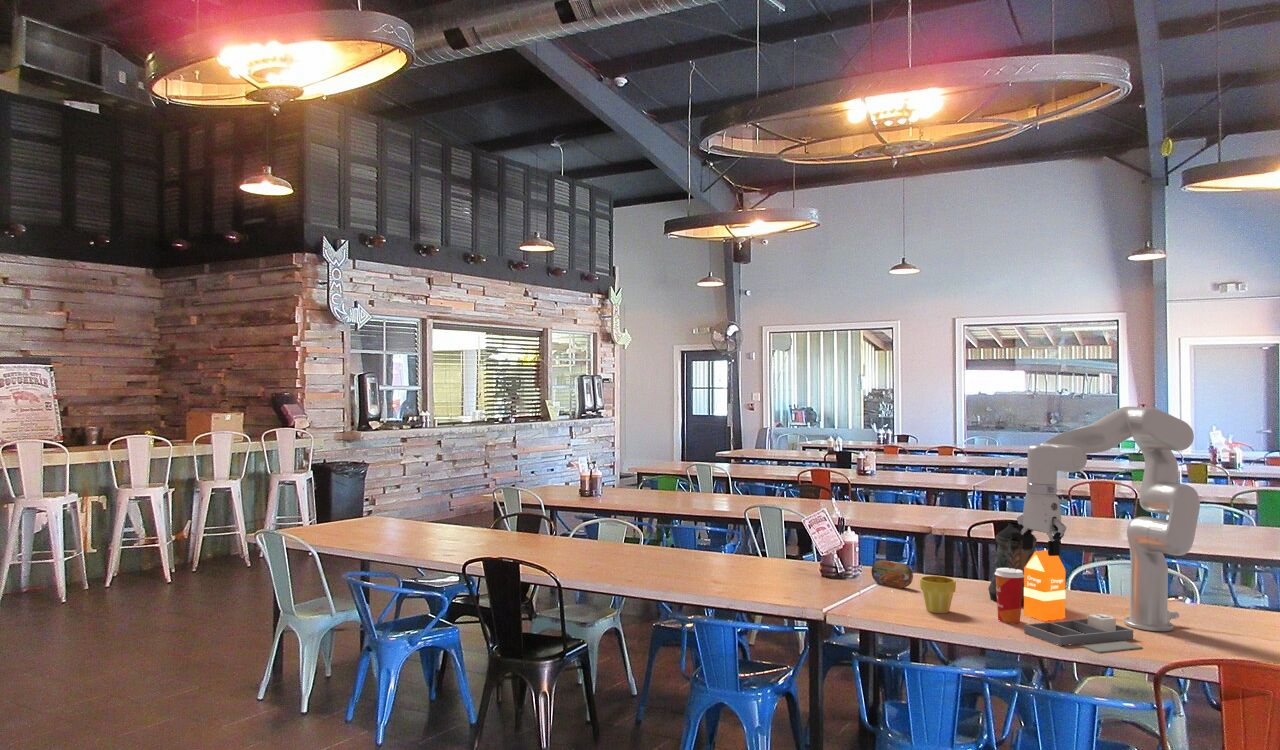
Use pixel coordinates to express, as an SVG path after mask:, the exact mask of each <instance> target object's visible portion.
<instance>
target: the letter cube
mask: <svg viewBox="0 0 1280 750" xmlns="http://www.w3.org/2000/svg"><path fill="white" fill-rule="evenodd" d="M1087 619H1088V621H1087V625H1089V626H1092V627H1095V628H1099V629H1102V630H1105V631H1108V632H1110V631H1116V625H1117V624H1116V623H1117V619H1116V617H1113V616H1111V615H1108V614H1103V613H1093V614H1088V615H1087Z"/></svg>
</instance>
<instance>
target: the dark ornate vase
mask: <svg viewBox="0 0 1280 750" xmlns="http://www.w3.org/2000/svg"><path fill="white" fill-rule="evenodd" d="M1031 535H1033V549H1025V550H1024V549H1022V534H1021V530H1020V528H1019V524H1018V522H1009V523H1008V525H1007V526H1006V527H1005V528H1004V529H1002V530H1001V531H999V532H998V533H996V535H995V542H996V543H997V548H996V553H995V559H994V568H993V573H992V577H991V581H990V584H989V586H988V589H987V590H988V593H989V598H990V600H991V601H992V602H994V603H997V591H996V575H995V572H996V569H997V568H1010V569H1011V568H1013V569H1016V570H1017V569H1019V570H1022V571H1023V575H1024V567H1025V566H1026V565H1027V563H1028V562H1029V560H1030V559H1031V557H1032V556H1033V554H1034V553H1035V551H1036V549H1035V547H1036V544H1037V541H1038V539H1037V537H1036V536H1035V535H1034V534H1033V533H1031ZM1016 570H1015V571H1016ZM1021 607H1024V577H1023V588H1022V602H1021Z"/></svg>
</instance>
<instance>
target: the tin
mask: <svg viewBox="0 0 1280 750" xmlns="http://www.w3.org/2000/svg"><path fill="white" fill-rule="evenodd" d="M870 572H871V575H872V578H873V580H874V581H875V582H876V584H879V585H880V586H881V585H882V586H887V587H893V588H899V589H902V588H907V587H908V586H910V585H911V584H912V583H913V578H914V573H913V570H912V568H911V567H910V565H908V564H906V563H904V562H899V561H898V562H897V561H892V560H891V561H889V560H884V559H883V560H881V559H880V560H877V561H875V562H874V563H873V565H872V566H871V571H870Z"/></svg>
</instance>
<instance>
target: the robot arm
mask: <svg viewBox="0 0 1280 750" xmlns="http://www.w3.org/2000/svg"><path fill="white" fill-rule="evenodd" d="M1194 436H1195V434H1194V431H1193V428H1192V427H1191V425H1189V423H1187V422H1186V421H1184V420H1183V419H1180V418H1178V417H1176V416H1173V415H1171V414H1169V413H1167V412H1165V411H1164V410H1163V411H1162V410H1160V409H1157V408H1154V407H1147V406H1146V407H1145V406H1122V407H1119V408H1118V409H1116V410H1114V411H1111V412H1110V413H1108V414H1107V415H1105V416H1103V417H1101V418H1099V419H1098V420H1096V421H1095V422H1092V423H1091V424H1088V425H1087V424H1086V425H1085V426H1084V425H1083V426H1081V427H1077V428H1074V429H1071V430H1068V431H1063V432H1061V433H1058V434H1056V435H1054V436H1052V437H1050V438H1047V440H1044V441H1043V442H1041V443H1040V444H1033V445H1030V446H1029V447H1028V448H1027V464H1026V466H1027V467H1026V468H1027V470H1026V471H1027V472H1026V476H1027V477H1026V494H1025V497H1024V503H1023V513H1022V514H1021V515H1019V516H1018V517H1016V521H1017V523H1018V524H1019V528H1020V530H1021V534H1022V549H1024V550H1025V549H1033V535H1034V534H1033V532H1039V533H1043V534H1044V533H1045V534H1047V536H1048V538H1049V540H1048V542H1047V544H1048V545H1047V550H1048V555H1049V556H1060V542H1062V538H1063V537H1064V536H1065V533H1066V530H1067V526H1066V525H1065V524H1064V523H1063V522H1062V511H1061V503H1060V498H1059V496H1057V493H1058V491H1059V490H1058V484H1057V483H1058V479H1057V478H1058V472H1061V473H1063V472H1064V473H1072V474H1073V473H1077V472H1080V471H1081V470H1083V469H1084V468H1085V467H1086V465H1087V461H1088V456H1087V454H1089V455H1090V454H1097V453H1103V452H1107V451H1110V450H1112V449H1113V448H1115V447H1117V446H1118V445H1120V444H1121V443H1123V442H1125V441H1127V440H1129V439H1130V438H1132V439H1133V441H1134V442H1135V444H1136V445H1137V446H1138V448H1139V449H1140V451H1141V453H1142V456H1143V458H1144V471H1143V476H1142V481H1141V486H1140V487H1141V488H1140V492H1139V500H1138V501H1139V505H1140V507H1141V508H1142V509H1143V510H1145V511H1146V512H1148V513H1152V514H1159V515H1164V516H1169V518H1168V519H1163V518H1159V517H1152V516H1138V517H1134V518H1133V519H1132V520H1130V522H1129V523H1128V525H1127V528H1126V538H1127V542H1128V545H1129V546H1128V547H1129V555H1130V556H1129V557H1130V577H1129V578H1130V585H1129V586H1130V589H1129V590H1130V593H1129V594H1130V595H1129V598H1130V600H1129V601H1130V602H1129V616H1128V617H1127V616H1126V617H1125V618H1124V619H1123V623H1124V624H1125V625H1126V626H1128V627H1131V628H1134V629H1137V630H1143V631H1144V630H1145V631H1150V632H1170V631H1172V630H1174V628H1175V627H1174V624H1173V623H1172V622H1171V619H1179V618H1180V613H1178V611H1171V612H1170V610H1169V609H1168V608H1169V607H1168V603H1169V601H1168V600H1169V598H1168V597H1169V595H1168V593H1169V590H1168V589H1169V583H1168V582H1169V580H1168V579H1169V578H1168V577H1169V567H1168V562H1167V559H1166V558H1165V557H1166V556H1165V555H1164V554H1166V555H1172V556H1184V555H1186V554H1188V553H1189V552H1190V551H1191V549H1192V547H1193V545H1194V540H1195V537H1196V530H1197V526H1198V520H1199V514H1200V508H1201V499H1200V496H1199V494H1198V491H1197V490H1196V489H1195V488H1194V487H1192V486H1191V485H1189V484H1185V483H1177V481H1178V473H1179V463H1178V460H1177V458H1176V456H1175V454H1174V453H1173V451H1179V452H1181V451H1185V450H1187V449H1188V448H1190V447H1191V446H1192V445H1193V443H1194ZM1031 534H1033V535H1031Z"/></svg>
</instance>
